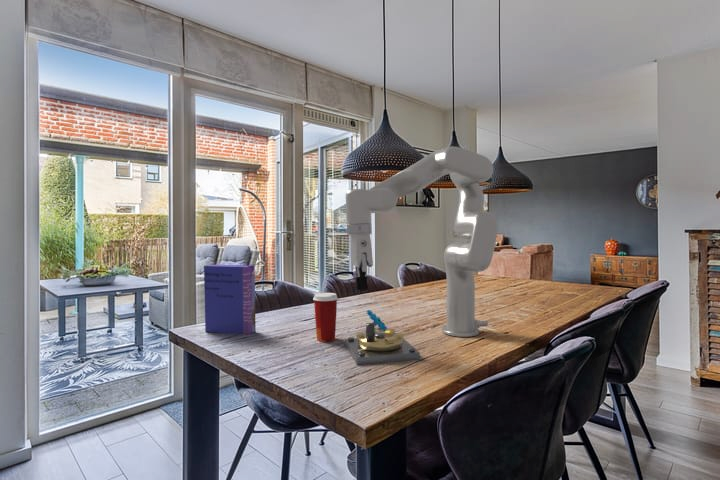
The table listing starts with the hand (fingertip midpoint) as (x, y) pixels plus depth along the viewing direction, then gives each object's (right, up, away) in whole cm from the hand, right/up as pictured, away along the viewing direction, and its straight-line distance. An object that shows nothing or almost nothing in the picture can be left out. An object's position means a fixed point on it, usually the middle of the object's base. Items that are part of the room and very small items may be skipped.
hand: (361, 289), depth 122 cm
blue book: (-47, -18, +20) cm, 54 cm away
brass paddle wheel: (+5, -16, -4) cm, 17 cm away
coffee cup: (-12, -18, +10) cm, 24 cm away
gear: (+6, -18, +20) cm, 27 cm away
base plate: (+5, -18, -4) cm, 19 cm away
